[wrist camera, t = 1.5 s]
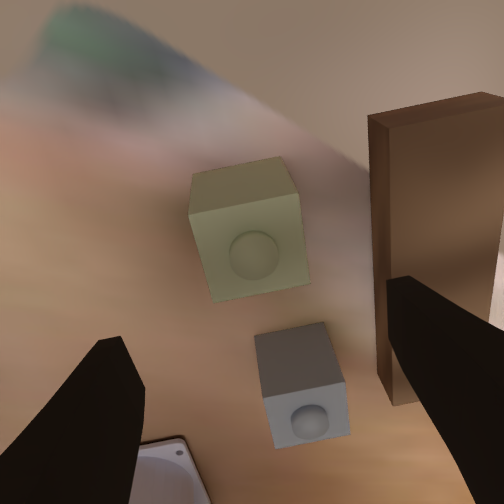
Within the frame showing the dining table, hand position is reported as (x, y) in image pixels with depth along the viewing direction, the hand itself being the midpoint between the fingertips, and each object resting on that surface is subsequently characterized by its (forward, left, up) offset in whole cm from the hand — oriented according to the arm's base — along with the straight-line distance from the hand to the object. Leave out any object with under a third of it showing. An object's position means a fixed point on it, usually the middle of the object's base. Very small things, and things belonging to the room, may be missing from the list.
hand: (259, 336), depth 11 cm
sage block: (0, 0, -10) cm, 10 cm away
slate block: (-10, -1, -10) cm, 14 cm away
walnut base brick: (-5, -9, -9) cm, 14 cm away
